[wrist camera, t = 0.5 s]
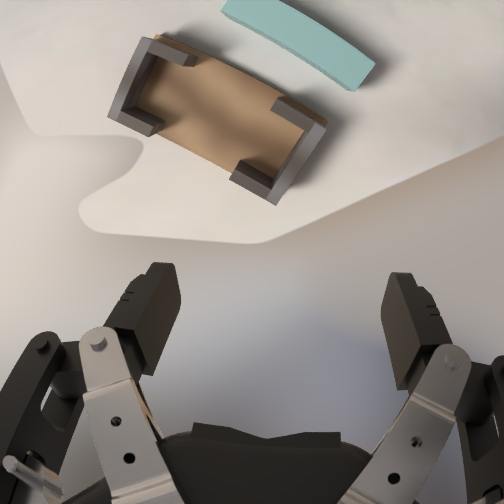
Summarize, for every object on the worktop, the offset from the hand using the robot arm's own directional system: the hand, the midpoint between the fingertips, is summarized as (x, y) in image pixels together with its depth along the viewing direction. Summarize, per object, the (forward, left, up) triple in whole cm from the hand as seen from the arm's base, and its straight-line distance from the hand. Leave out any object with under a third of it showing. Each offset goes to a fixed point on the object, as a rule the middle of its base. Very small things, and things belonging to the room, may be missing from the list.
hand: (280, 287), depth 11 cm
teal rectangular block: (-11, -5, -24) cm, 27 cm away
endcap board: (0, -8, -24) cm, 25 cm away
